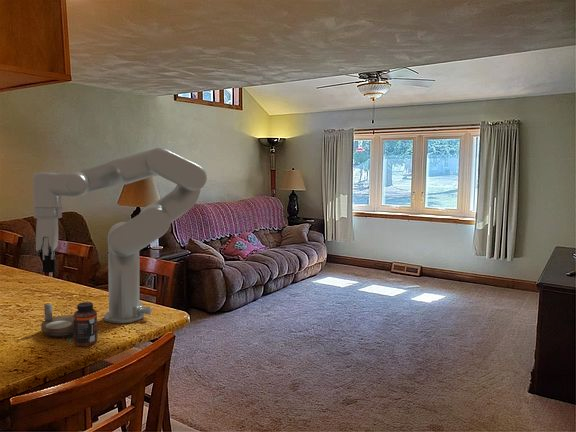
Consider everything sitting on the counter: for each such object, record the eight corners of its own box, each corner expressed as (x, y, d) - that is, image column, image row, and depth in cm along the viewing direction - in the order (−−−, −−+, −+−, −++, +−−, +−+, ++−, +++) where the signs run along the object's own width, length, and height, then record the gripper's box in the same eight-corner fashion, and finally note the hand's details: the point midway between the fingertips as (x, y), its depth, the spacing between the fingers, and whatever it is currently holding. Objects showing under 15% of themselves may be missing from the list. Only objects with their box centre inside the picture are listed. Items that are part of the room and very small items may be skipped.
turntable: (97, 320, 139) (97, 299, 138) (76, 335, 126) (75, 313, 125) (56, 318, 139) (56, 298, 139) (31, 333, 126) (30, 311, 126)
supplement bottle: (99, 344, 124) (98, 305, 122) (76, 348, 120) (75, 308, 119) (94, 337, 128) (94, 299, 127) (72, 341, 125) (71, 302, 124)
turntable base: (92, 326, 137) (92, 322, 137) (70, 341, 125) (70, 337, 125) (59, 324, 138) (58, 321, 138) (34, 340, 125) (34, 336, 125)
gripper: (38, 210, 140) (39, 267, 142) (28, 215, 126) (30, 278, 128) (64, 210, 143) (65, 266, 145) (58, 215, 129) (59, 277, 131)
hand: (49, 271), depth 137 cm, fingers closed
